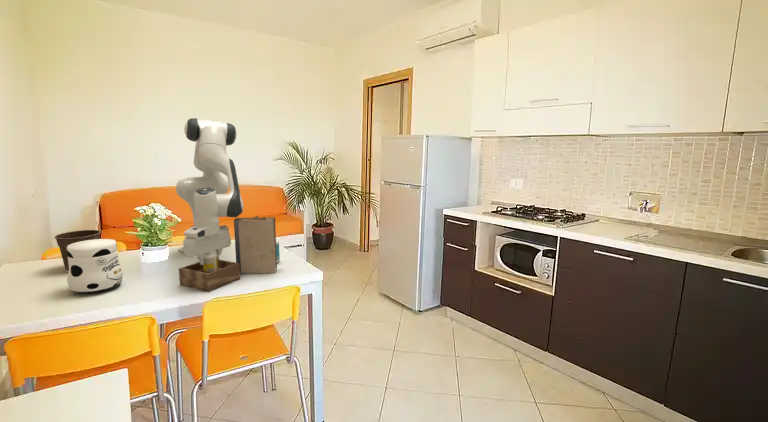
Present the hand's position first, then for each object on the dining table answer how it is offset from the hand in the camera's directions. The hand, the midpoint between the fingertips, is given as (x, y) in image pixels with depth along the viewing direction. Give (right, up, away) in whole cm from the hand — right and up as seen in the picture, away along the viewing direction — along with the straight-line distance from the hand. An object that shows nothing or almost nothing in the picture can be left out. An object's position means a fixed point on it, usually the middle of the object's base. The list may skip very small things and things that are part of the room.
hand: (210, 262), depth 161 cm
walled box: (0, -8, +1) cm, 9 cm away
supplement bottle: (0, -4, +1) cm, 5 cm away
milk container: (-41, -10, -7) cm, 43 cm away
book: (+14, -6, +15) cm, 22 cm away
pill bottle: (+17, -4, +28) cm, 33 cm away
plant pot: (-64, -5, +16) cm, 66 cm away
